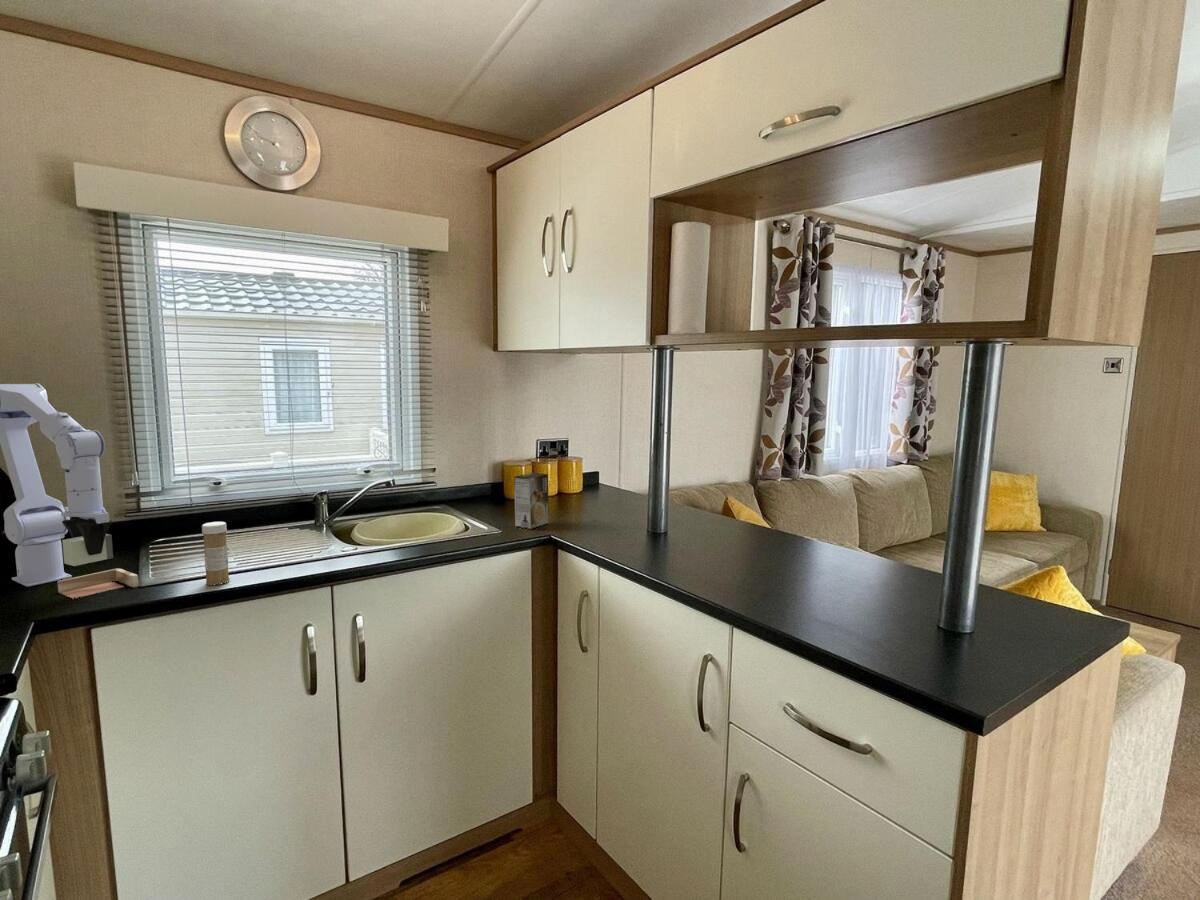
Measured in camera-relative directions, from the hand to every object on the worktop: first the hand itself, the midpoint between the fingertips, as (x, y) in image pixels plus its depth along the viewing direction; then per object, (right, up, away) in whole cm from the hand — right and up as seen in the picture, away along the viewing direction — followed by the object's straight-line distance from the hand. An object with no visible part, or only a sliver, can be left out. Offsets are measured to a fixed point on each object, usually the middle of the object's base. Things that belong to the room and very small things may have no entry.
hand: (89, 552), depth 133 cm
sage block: (0, -2, 0) cm, 2 cm away
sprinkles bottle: (+23, -8, +7) cm, 25 cm away
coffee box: (+87, -2, +62) cm, 107 cm away
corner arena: (0, -8, +2) cm, 8 cm away
